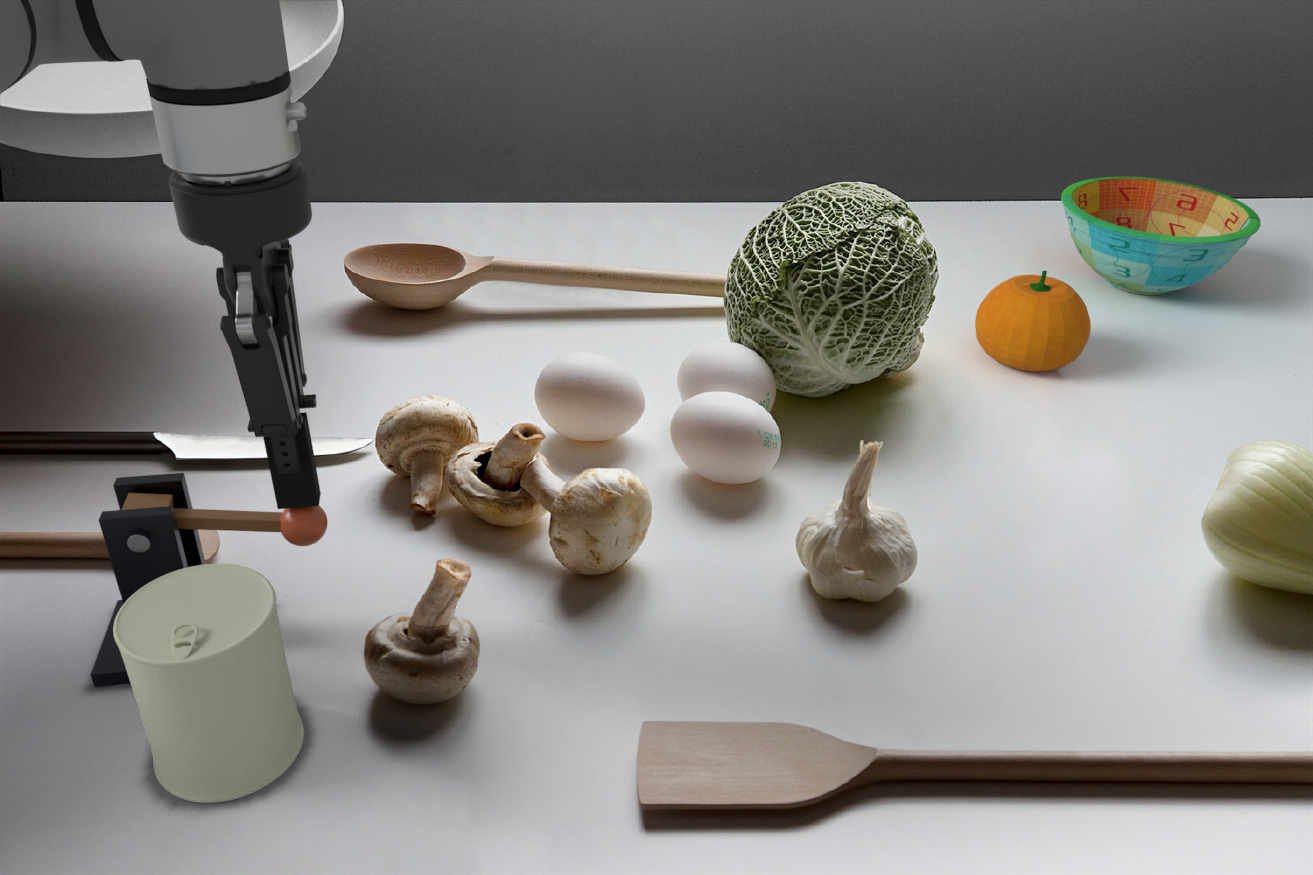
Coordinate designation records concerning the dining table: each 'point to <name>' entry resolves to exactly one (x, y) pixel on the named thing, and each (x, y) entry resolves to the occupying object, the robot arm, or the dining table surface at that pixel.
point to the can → (211, 681)
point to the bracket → (142, 553)
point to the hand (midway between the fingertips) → (299, 501)
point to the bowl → (1155, 231)
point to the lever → (242, 519)
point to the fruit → (1033, 323)
